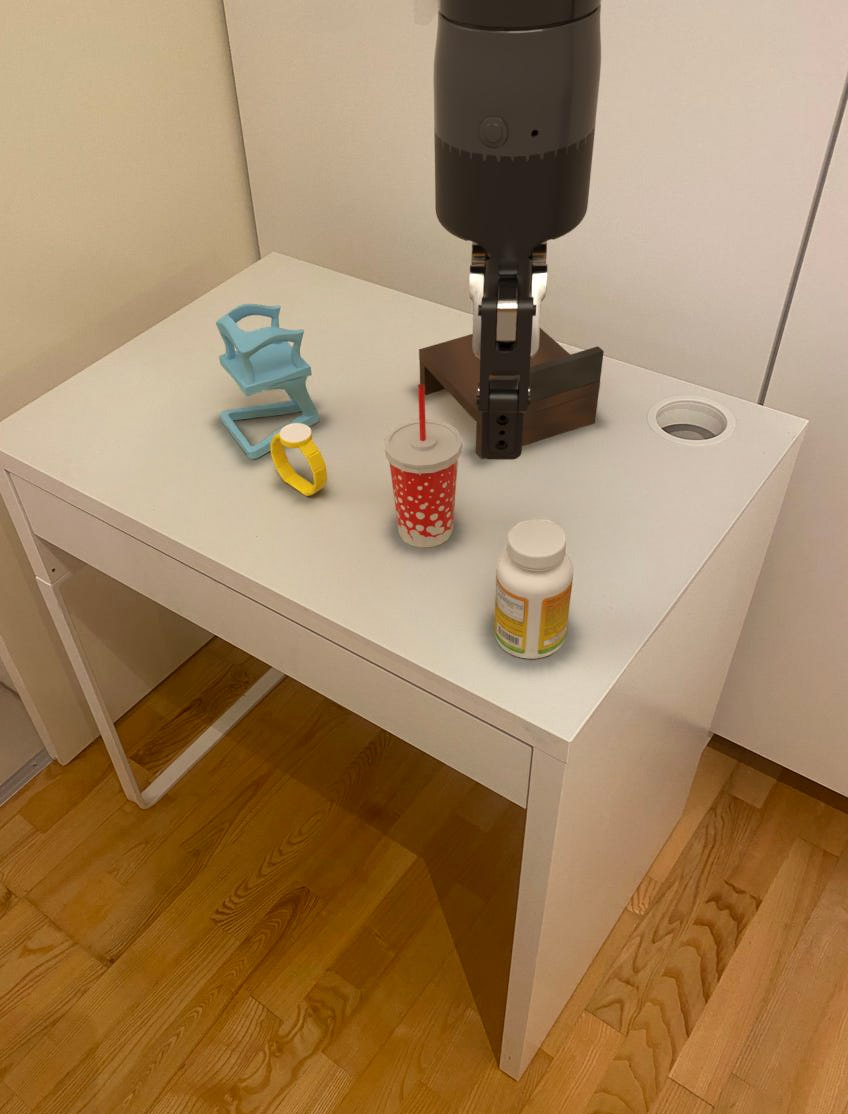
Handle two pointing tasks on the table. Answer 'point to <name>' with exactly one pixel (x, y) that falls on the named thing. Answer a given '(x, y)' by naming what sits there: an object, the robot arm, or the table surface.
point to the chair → (264, 371)
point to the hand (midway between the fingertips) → (502, 411)
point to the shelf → (554, 380)
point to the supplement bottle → (533, 590)
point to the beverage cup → (424, 477)
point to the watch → (302, 439)
